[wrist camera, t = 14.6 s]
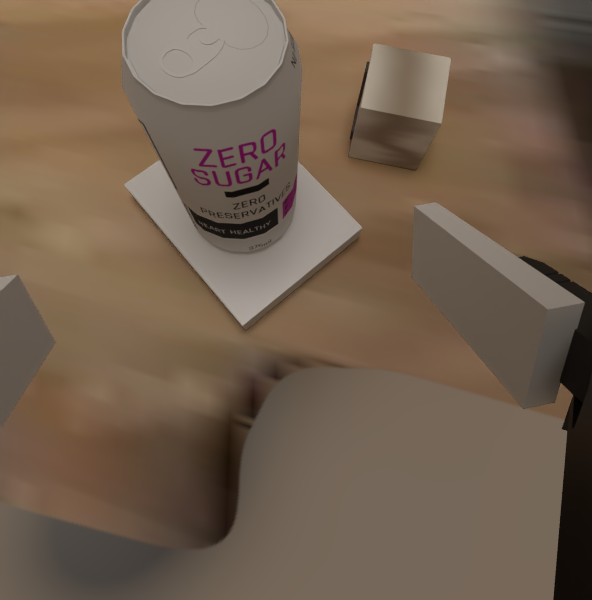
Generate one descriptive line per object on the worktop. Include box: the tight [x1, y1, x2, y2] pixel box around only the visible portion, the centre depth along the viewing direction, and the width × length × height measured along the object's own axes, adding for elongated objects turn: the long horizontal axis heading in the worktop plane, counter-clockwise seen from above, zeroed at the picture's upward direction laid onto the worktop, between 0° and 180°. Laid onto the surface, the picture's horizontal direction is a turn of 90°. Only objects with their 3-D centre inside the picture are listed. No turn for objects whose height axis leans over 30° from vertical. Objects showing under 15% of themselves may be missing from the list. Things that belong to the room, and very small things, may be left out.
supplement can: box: [122, 0, 302, 252], centre depth 24 cm, size 8×8×15 cm
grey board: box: [124, 160, 362, 331], centre depth 32 cm, size 15×12×2 cm
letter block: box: [348, 43, 451, 170], centre depth 32 cm, size 6×6×6 cm
